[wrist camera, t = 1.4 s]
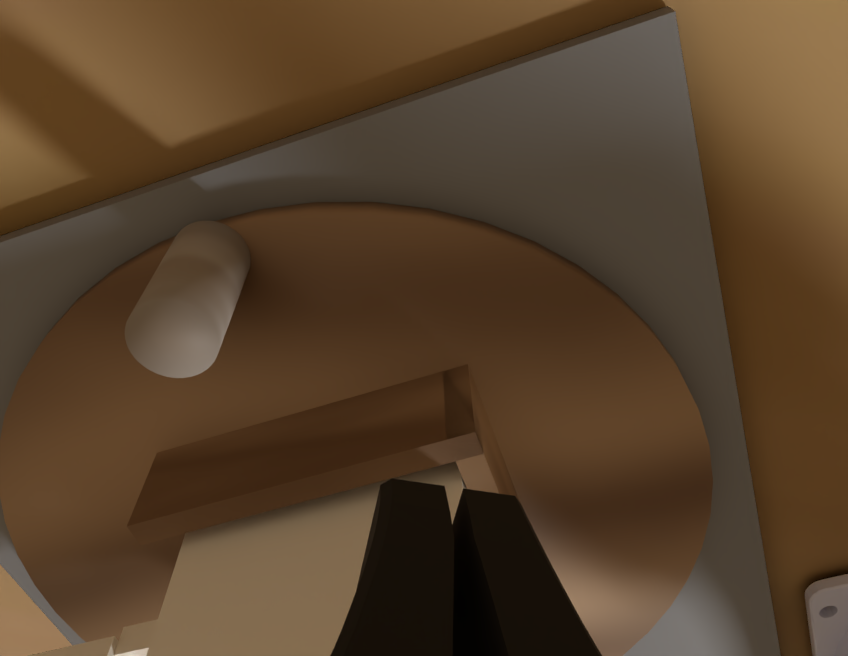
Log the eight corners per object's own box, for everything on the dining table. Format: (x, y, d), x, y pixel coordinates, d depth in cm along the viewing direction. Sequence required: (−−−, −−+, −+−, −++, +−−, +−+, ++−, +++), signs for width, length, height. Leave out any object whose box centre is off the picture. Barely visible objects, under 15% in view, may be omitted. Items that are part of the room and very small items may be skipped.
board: (802, 807, 30) (814, 838, 29) (310, 897, 33) (307, 927, 32) (667, 6, 15) (684, 17, 14) (-205, 306, 18) (-238, 332, 17)
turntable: (745, 649, 24) (796, 774, 21) (208, 764, 27) (181, 890, 24) (629, 67, 15) (688, 129, 12) (-162, 331, 18) (-287, 440, 15)
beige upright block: (456, 409, 19) (473, 625, 14) (521, 587, 22) (554, 816, 17) (10, 523, 20) (-123, 753, 15) (131, 672, 24) (54, 904, 19)
